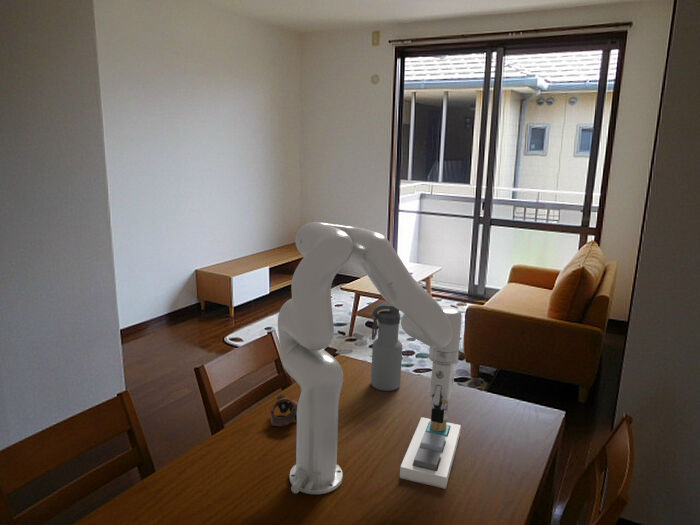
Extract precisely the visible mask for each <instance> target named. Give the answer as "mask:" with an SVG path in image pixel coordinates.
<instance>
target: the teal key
mask: <svg viewBox="0 0 700 525" xmlns="http://www.w3.org/2000/svg"><path fill="white" fill-rule="evenodd" d="M430 424H431V421H430V423H429V425H428V428H427V431H426V432H428V433H433V434H438V435H443V436H445V437H448V434H449V427H450V425H447V424H446V427H447V428H446V430H445V431H441V432H438V431H434V430H432V429H431V428H430Z"/></svg>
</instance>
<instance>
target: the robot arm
mask: <svg viewBox="0 0 700 525" xmlns="http://www.w3.org/2000/svg"><path fill="white" fill-rule="evenodd" d="M294 240H295V241H294V242H295V246H296V249H297V251H298V252H299V253H300V254H301V255H302V256H303V258H302V259H301V260H300V262H299V263H298V265H297V266H296V268H295V270H294V273H293V274H292V280H291V298H290V299H288V300H286V302H284V303H283V305H282V306H281V308H280V310H279V312H278V315H277V333H278V340H279V349H280V356H281V362H282V365H283V368H284V370H285V372H287V374H288V375H289V376H290V377H291V378H292V379H294V381H295V382H296V383H297V384H298V385H299V387H300V390H301V391H300V394H299V395H300V396H299V399H298V401H297V402H298V405H297V415H296V441H295V442H296V449H295V450H296V452H295V453H296V455H295V457H296V458H295V459H296V460H295V461H296V462H295V464H294V465H293V466H292V467H291V469H290V471H289V478H288V479H289V482H290V484H291V487H290V489H291V492H292V493H293V494H297V493H299V492H301V493H303V494H307V495H324V494H328V493H330V492H333V491H335V490H336V489H338V488H339V487H340V486H341V484H342V482H343V476H344V475H343V474H344V473H343V470H342V468H341V467H340V465H339V464H337V463H338V461H337V458H338V457H337V456H338V434H339V427H338V426H339V405H340V404H339V401H340V397H341V390H342V387H343V382H344V372H343V369H342V366H341V364H340V363H339V362H338V360H337V359H336V358H335V356H333V355H331V354H330V353H329V352H328V351H326V350H325V349H326V348H328V347H330V345H331V343H332V341H333V339H334V336H335V335H334V334H335V328H334V316H333V304H332V303H333V302H332V284H333V281H334V279H335V277H336V276H337V274H338V273H339V271H340V270H341V269H342V268H343V267H345V265H346V264H347V263H348V262H352V263H353V264H356V265H358V266H360V267H361V269H362V270H363V271H364V272H365V274H366V275H367V277H368V278H369V280H370V281H371V283H372V284H373V286H374V287H375V289H376V290H377V291H378V293H379V294H380V295H381V297H382V298H383V299H384V300H385V301H386V303H390V304H391V305H392V306H394V307H395V308H397V309H398V310H399V312H401V313H402V317H401V318H400V326H401V329H402V330H403V331H404V333H405V334H407V335H408V336H410V337H411V338H413V339H415V340H417V341H418V342H420V343H423V344H424V345H426V346H428V347H429V353H428V354H429V355H428V359H429V360H430V361H431V362H432V367H431V376H430V379H431V380H430V391H429V392H430V394H429V395H430V398H431V399H432V398H433V406H432V405H431V407H432V413H431V412H430V419H431V421H433V422H438V423H443V419H444V409H443V406H444V400H446V401H448V402H449V401H450V399H451V396H452V393H453V390H454V384H455V383H454V382H455V364H457V363H458V362H459V354H460V352H459V351H460V342H461V332H462V331H461V330H462V320H463V318H462V316H463V315H462V312H461V310H459V309H458V308H456V307H453V306H446V305H444V306H442V305H441V306H440V304H439V303H438V301H436V299H434V297H432V295H431V294H430V293H429V292H428V291H426V289H425V288H423V286H422V285H421V284H420V283H419V282H418V281H417V280H416V279H415V278H414V277H413V276H412V274H411V273H410V271H408V269H407V267H406V266H405V264H404V262H403V260H402V259H401V258H400V256H399V254H398V253H397V252H396V249H395V248H394V247H393V245H392V244H391V242H390V240H388V238H387V237H386V236H385V235H383V234H381V233H380V232H376V231H373V230H370V229H366V228H362V227H358V226H349V225H341V224H335V223H327V222H320V221H319V222H318V221H311V222H307V223H306V224H304V225H301V227H300V228H299V229H298V231H297V232H296V235H295V239H294ZM440 395H441V396H442V397H440ZM440 400H442V402H441V403H440Z"/></svg>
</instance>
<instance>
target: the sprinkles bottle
mask: <svg viewBox="0 0 700 525" xmlns="http://www.w3.org/2000/svg"><path fill="white" fill-rule="evenodd" d="M440 397H442V396H441V395H440ZM441 402H442V400H440V403H441ZM432 406H433V398H431V409H430V410H431V411H430V414H431V413H432ZM443 409H444V419H443V423H438V422H433V421H431V424H430V428H431V429H432V430H434V431H438V432H441V431H445V430H446V428H447V427H446V423H447V420H448V411H449V400H448V401H446V400H444V406H443Z"/></svg>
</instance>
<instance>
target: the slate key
mask: <svg viewBox="0 0 700 525" xmlns="http://www.w3.org/2000/svg"><path fill="white" fill-rule="evenodd" d="M444 445H445V436H443V435H438V434H433V433H428V432H425V433H424V435H423V438H422V440H421V445H420V448H422V449H426V450H431V451H436V452H440V453H442V452H443V449H444Z"/></svg>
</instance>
